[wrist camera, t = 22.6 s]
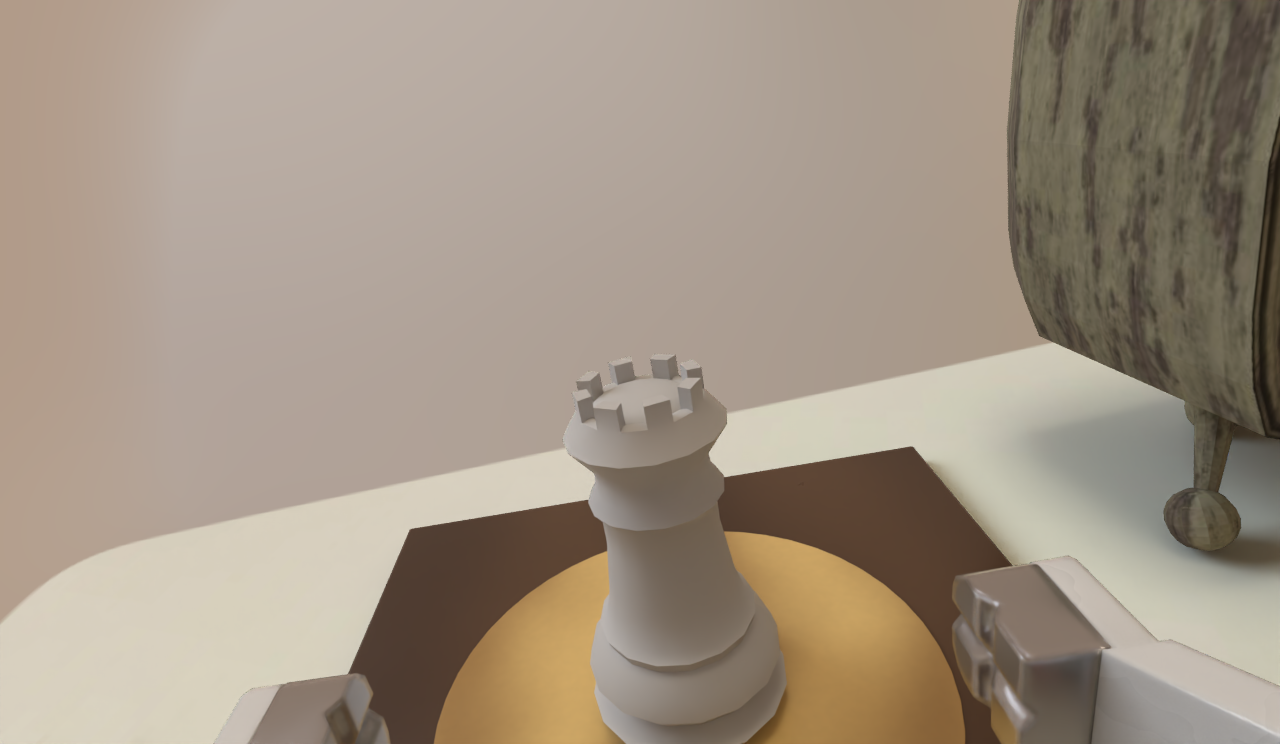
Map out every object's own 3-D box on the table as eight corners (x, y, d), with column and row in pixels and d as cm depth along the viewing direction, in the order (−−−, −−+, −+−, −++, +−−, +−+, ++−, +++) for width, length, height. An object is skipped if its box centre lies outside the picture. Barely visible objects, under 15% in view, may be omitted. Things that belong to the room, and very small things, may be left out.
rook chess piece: (760, 606, 19) (725, 322, 16) (816, 751, 15) (783, 405, 12) (594, 639, 19) (526, 360, 16) (603, 796, 15) (514, 458, 12)
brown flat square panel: (63, 1402, 9) (37, 1381, 9) (414, 542, 26) (408, 526, 25) (1506, 1195, 9) (1525, 1167, 8) (913, 460, 25) (913, 442, 25)
